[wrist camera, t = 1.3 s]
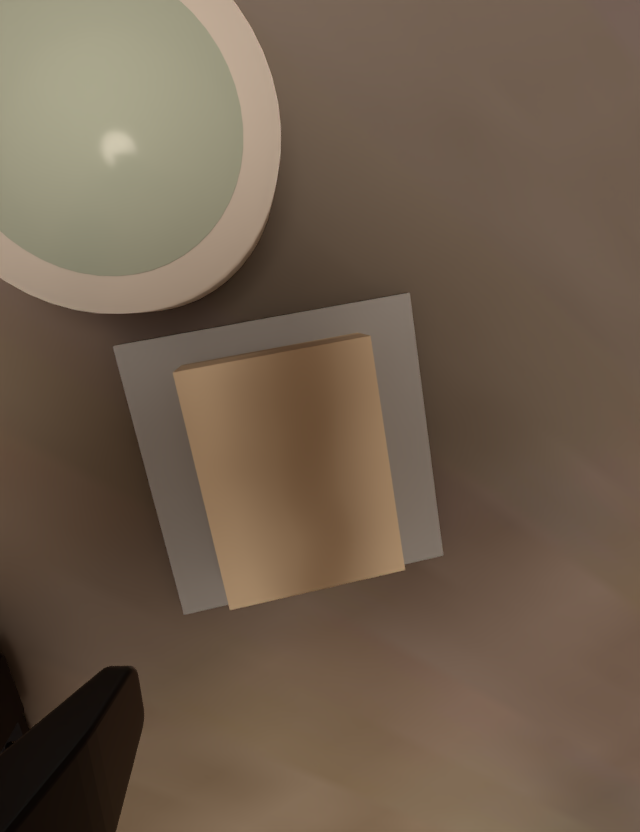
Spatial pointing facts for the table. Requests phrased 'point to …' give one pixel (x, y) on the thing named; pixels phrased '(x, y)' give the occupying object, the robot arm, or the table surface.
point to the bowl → (132, 150)
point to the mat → (159, 357)
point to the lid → (293, 467)
